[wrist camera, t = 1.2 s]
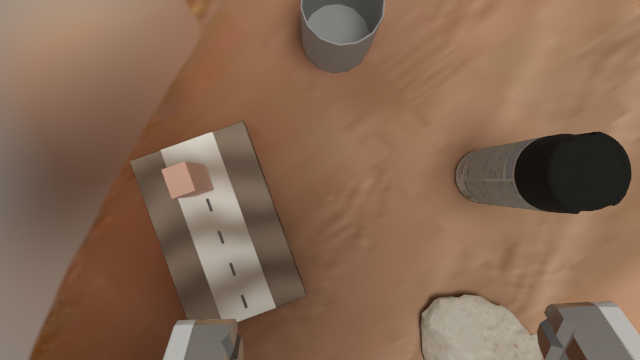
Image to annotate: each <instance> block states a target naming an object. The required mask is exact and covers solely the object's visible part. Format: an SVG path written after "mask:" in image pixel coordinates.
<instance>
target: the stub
mask: <svg viewBox="0 0 640 360" xmlns="http://www.w3.org/2000/svg"><path fill="white" fill-rule="evenodd" d="M161 171H162V173H163V176H164V179H165V182H166V184H167V187H168V190H169V193H170V196H171V198H172V199H176V198H186V197H195V196H198V195H201V194H203V193H206V192H209V191H212V190H214V187H213V185H212V182H211V179H210V176H209V174H208V171H207V168H206V165H201V164H196V163H190V162H182V163H179V164H176V165H173V166H170V167H168V168H165V169H162V170H161Z"/></svg>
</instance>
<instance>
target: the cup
mask: <svg viewBox="0 0 640 360" xmlns="http://www.w3.org/2000/svg"><path fill="white" fill-rule="evenodd" d="M384 6H385V0H301V31H302V45H303V47H304V50H305V53H306V56H307V58H308V59H309V60H310V61H311V62H312V63H313V64H314V65H315V66H316V67H317V68H319V69H322V70H325V71H327V72H330V73H339V72H348V71H349V70H351V69H353V68H354V67H356V66H357V65H359V64H360V63H361V62H362V60H363V59H364V57H365V55H366V54H367V52H368V50H369V48H370V46H371V44H372V41H373V39H374V37H375V35H376V33H377V30H378V28H379V26H380V24H381V21H382V19H383V16H384Z"/></svg>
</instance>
